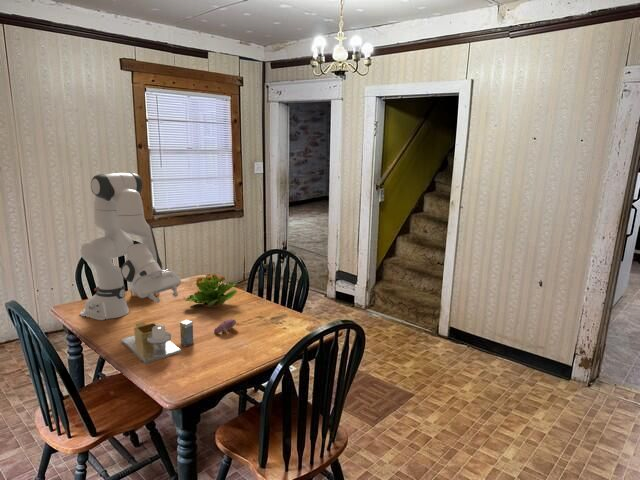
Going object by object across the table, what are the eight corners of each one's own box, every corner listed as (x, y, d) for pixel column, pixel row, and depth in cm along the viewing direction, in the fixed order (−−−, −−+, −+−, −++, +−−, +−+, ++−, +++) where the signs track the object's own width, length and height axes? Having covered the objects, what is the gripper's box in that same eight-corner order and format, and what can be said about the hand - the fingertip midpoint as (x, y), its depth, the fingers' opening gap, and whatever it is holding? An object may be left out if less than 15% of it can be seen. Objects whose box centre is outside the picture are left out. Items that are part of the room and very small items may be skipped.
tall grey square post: (181, 344, 183) (180, 322, 181) (187, 341, 186) (186, 319, 184) (186, 346, 182) (185, 324, 179) (193, 343, 185) (192, 321, 182)
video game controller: (219, 338, 193) (224, 327, 190) (212, 331, 195) (217, 320, 192) (234, 330, 201) (239, 320, 198) (227, 324, 203) (232, 313, 200)
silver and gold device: (121, 341, 184) (119, 315, 182) (156, 331, 194) (154, 307, 192) (145, 365, 165) (143, 336, 163) (182, 353, 175) (181, 326, 173)
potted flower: (206, 294, 244) (205, 264, 240) (244, 299, 237) (244, 268, 234) (181, 309, 220) (179, 277, 216) (223, 316, 214) (222, 282, 210)
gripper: (168, 272, 200) (183, 296, 196) (128, 283, 183) (144, 309, 180) (174, 264, 196) (189, 288, 193) (133, 275, 180) (149, 301, 176)
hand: (167, 299), depth 186 cm, fingers open, 8 cm apart
